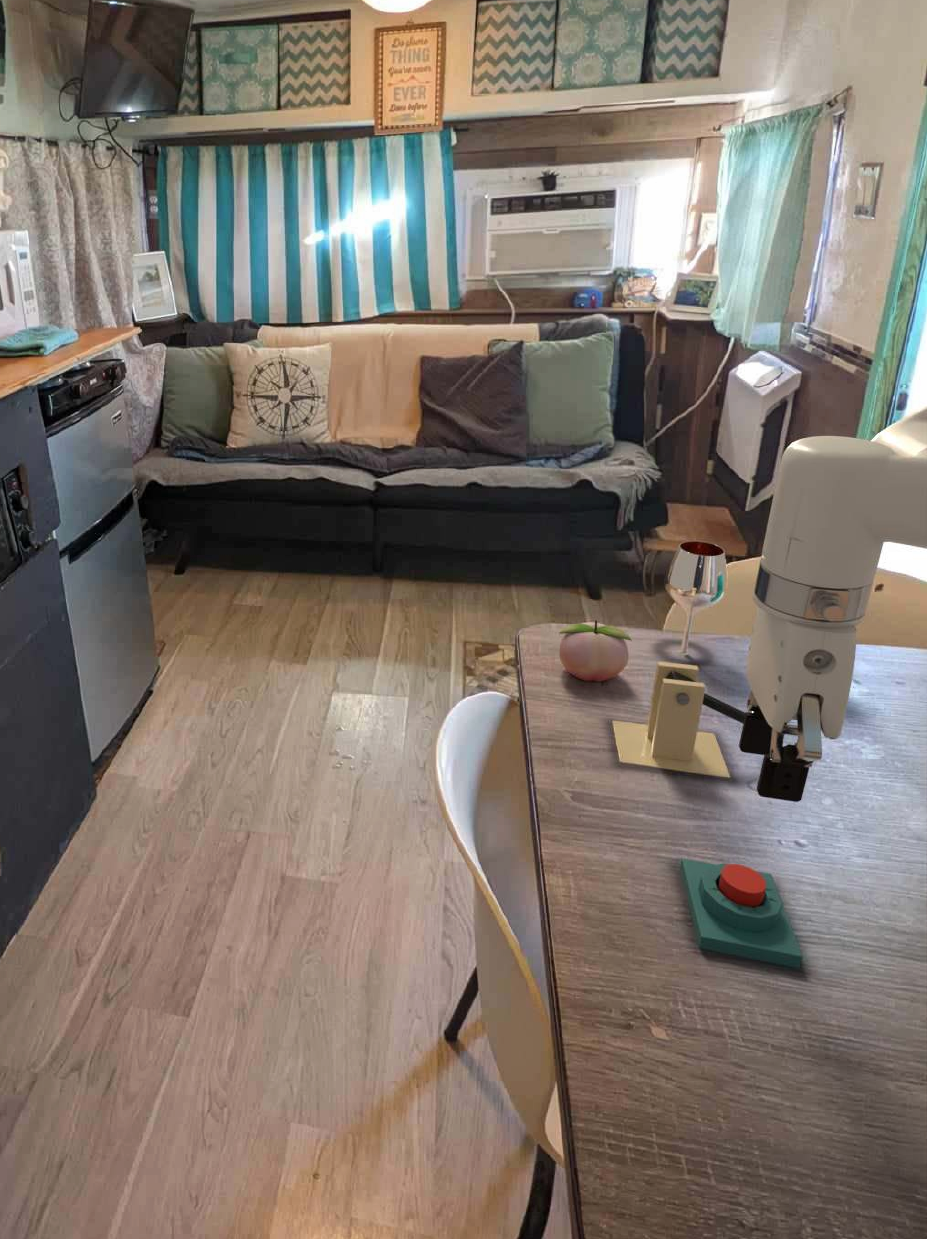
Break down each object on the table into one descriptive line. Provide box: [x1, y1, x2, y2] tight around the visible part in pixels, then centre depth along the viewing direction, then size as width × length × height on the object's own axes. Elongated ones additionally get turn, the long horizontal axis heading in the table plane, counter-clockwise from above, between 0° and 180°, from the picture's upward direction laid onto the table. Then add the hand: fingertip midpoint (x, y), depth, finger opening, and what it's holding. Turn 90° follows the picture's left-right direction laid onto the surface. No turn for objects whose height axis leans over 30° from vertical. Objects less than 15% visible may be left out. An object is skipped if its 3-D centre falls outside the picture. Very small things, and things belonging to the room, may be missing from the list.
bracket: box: [611, 661, 731, 779], centre depth 100 cm, size 12×9×12 cm
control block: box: [679, 858, 803, 969], centre depth 77 cm, size 8×10×4 cm
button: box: [719, 863, 766, 907], centre depth 76 cm, size 4×4×2 cm
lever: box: [661, 670, 753, 724], centre depth 97 cm, size 12×5×2 cm, turn 72°
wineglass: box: [663, 540, 729, 656], centre depth 120 cm, size 8×8×18 cm
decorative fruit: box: [558, 619, 632, 683], centre depth 116 cm, size 9×8×10 cm
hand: (768, 772), depth 72 cm, fingers open, 5 cm apart
